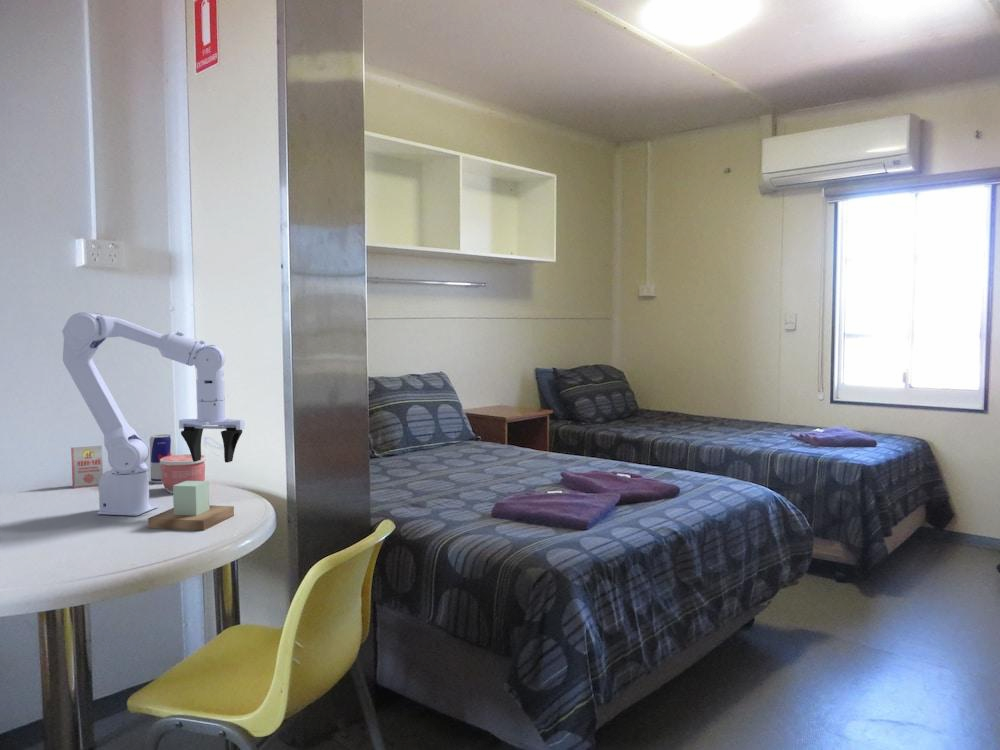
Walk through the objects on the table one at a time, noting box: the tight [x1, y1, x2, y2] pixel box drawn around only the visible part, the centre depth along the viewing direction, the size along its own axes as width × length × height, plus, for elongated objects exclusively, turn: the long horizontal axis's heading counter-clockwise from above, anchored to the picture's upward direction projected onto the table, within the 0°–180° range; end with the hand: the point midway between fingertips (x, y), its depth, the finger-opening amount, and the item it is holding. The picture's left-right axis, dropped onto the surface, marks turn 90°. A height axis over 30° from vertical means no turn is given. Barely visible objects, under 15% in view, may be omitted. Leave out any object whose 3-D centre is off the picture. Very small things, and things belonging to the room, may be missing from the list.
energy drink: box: [149, 433, 174, 485], centre depth 198 cm, size 5×5×12 cm
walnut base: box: [147, 504, 235, 532], centre depth 158 cm, size 12×12×2 cm
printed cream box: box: [70, 445, 104, 489], centre depth 194 cm, size 4×7×10 cm, turn 119°
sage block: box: [172, 480, 211, 516], centre depth 158 cm, size 5×5×6 cm
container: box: [160, 453, 207, 494], centre depth 188 cm, size 10×10×8 cm
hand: (212, 461), depth 170 cm, fingers open, 7 cm apart
